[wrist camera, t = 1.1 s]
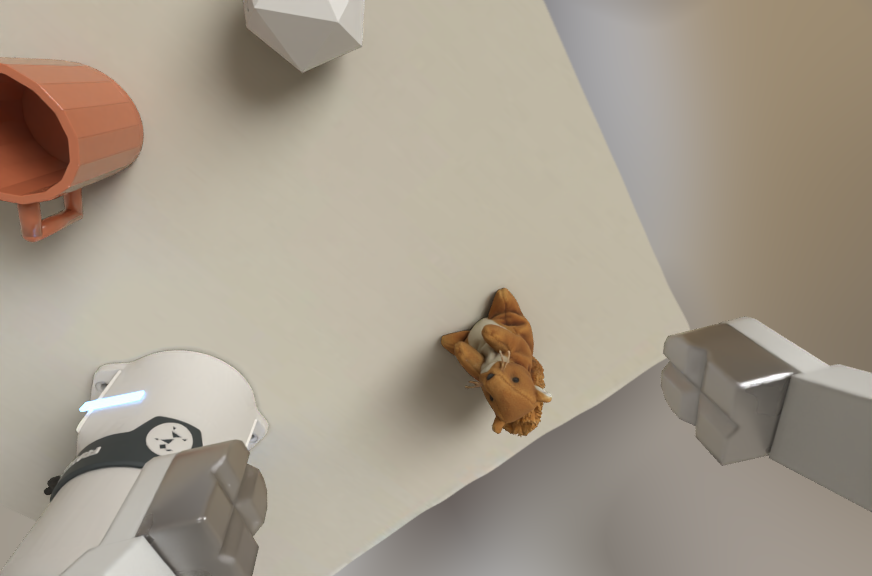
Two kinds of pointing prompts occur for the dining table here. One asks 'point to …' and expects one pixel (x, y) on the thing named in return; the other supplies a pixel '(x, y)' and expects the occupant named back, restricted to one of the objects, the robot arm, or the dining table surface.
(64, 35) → the dining table surface
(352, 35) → the die
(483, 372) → the stuffed squirrel
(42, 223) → the mug
